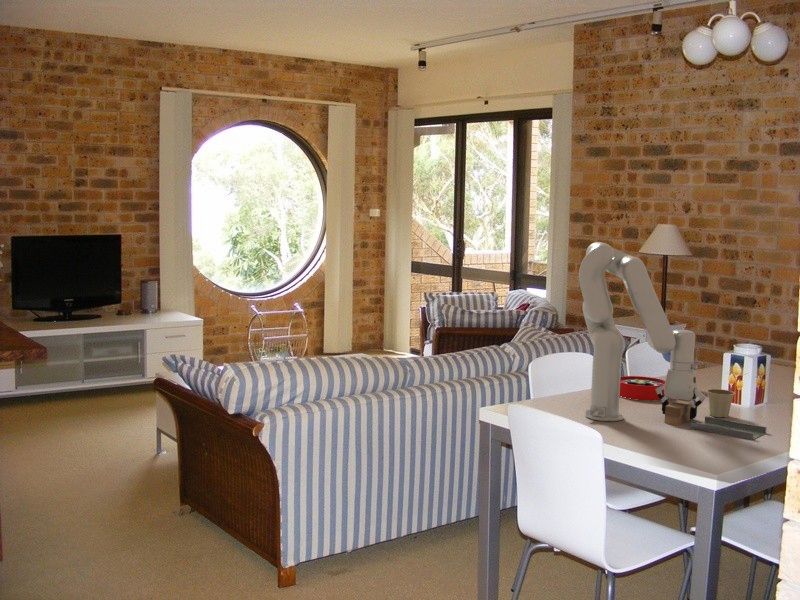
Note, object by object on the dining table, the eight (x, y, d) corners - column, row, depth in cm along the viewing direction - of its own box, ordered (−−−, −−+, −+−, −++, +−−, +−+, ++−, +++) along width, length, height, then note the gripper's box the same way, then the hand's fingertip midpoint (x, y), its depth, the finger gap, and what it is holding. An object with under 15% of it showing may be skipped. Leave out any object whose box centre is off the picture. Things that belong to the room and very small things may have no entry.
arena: (752, 439, 276) (752, 433, 276) (691, 428, 289) (691, 422, 289) (766, 433, 285) (766, 427, 285) (706, 422, 299) (706, 416, 298)
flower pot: (732, 414, 312) (733, 390, 311) (734, 420, 303) (736, 395, 302) (704, 411, 314) (705, 388, 313) (705, 417, 305) (707, 393, 304)
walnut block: (677, 425, 293) (678, 408, 293) (664, 423, 296) (665, 406, 295) (692, 419, 303) (693, 402, 303) (679, 416, 306) (680, 400, 305)
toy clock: (657, 388, 326) (606, 381, 337) (657, 403, 326) (605, 396, 338) (674, 380, 342) (625, 374, 354) (674, 395, 343) (624, 388, 354)
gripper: (711, 368, 295) (708, 418, 297) (662, 361, 306) (659, 410, 308) (702, 371, 289) (699, 422, 291) (652, 364, 300) (650, 413, 302)
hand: (678, 416), depth 299 cm, fingers open, 9 cm apart
